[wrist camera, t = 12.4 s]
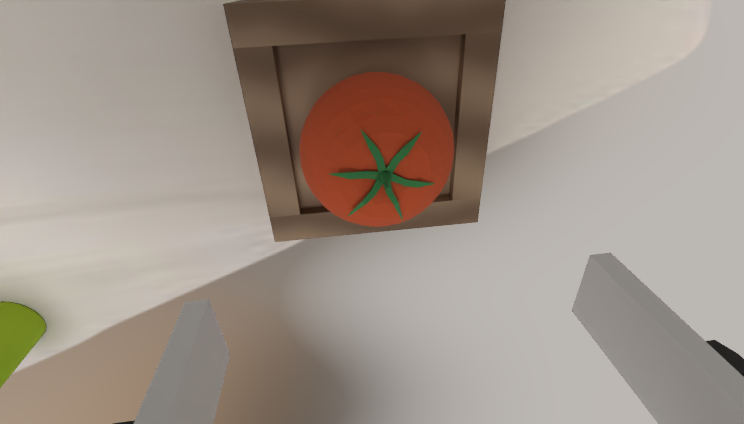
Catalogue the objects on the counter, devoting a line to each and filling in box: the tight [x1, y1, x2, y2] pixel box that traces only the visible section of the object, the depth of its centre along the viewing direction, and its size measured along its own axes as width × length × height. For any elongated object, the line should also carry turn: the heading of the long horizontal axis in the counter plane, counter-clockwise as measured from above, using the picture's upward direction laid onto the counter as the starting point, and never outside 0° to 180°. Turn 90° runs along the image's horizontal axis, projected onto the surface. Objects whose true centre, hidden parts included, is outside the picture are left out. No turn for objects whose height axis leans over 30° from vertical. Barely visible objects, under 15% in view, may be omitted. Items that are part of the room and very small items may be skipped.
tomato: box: [299, 72, 454, 227], centre depth 25 cm, size 10×10×10 cm
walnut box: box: [223, 0, 506, 242], centre depth 30 cm, size 18×18×5 cm
